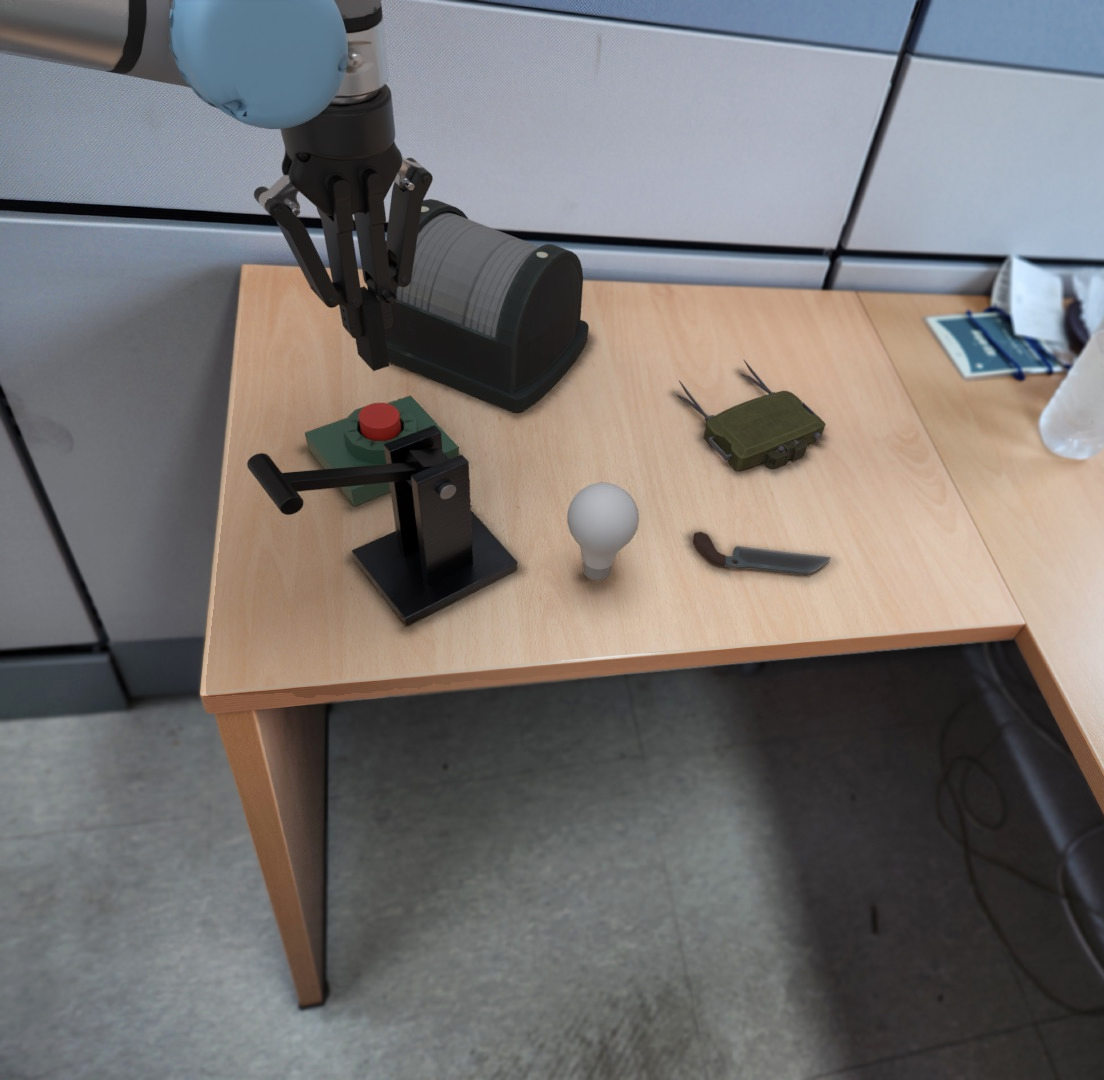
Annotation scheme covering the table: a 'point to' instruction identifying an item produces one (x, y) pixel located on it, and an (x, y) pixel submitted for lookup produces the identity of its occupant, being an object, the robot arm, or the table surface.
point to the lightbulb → (602, 526)
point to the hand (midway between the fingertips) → (373, 359)
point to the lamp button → (379, 422)
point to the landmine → (761, 428)
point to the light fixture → (487, 311)
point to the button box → (368, 445)
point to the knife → (759, 558)
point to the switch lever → (334, 476)
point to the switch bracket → (431, 537)
